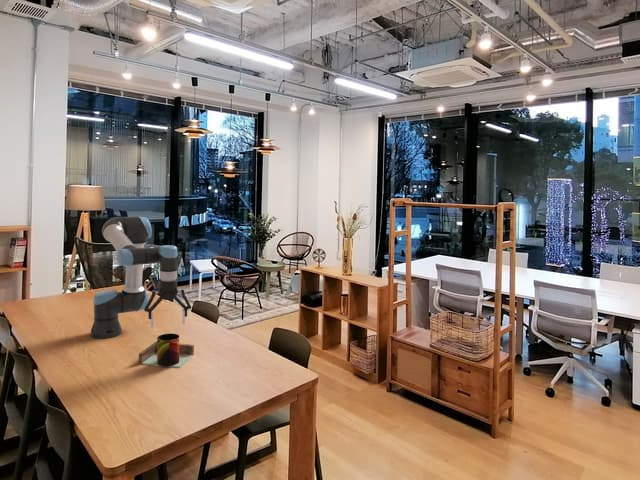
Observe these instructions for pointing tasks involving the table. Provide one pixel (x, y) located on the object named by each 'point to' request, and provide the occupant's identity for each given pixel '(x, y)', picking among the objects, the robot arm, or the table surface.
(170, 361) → the mug
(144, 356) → the walls
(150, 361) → the mat
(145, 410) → the table surface
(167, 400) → the table surface
